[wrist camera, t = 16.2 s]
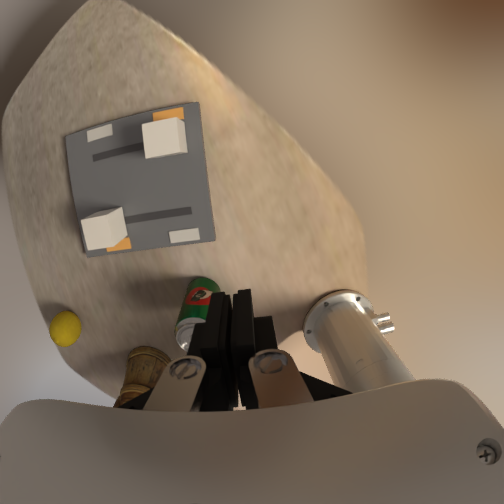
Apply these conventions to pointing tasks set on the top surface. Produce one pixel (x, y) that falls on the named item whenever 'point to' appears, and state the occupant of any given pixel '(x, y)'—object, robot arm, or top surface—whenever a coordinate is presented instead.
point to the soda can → (194, 309)
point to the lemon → (65, 328)
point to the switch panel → (143, 182)
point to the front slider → (164, 138)
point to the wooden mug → (142, 372)
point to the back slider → (104, 228)
